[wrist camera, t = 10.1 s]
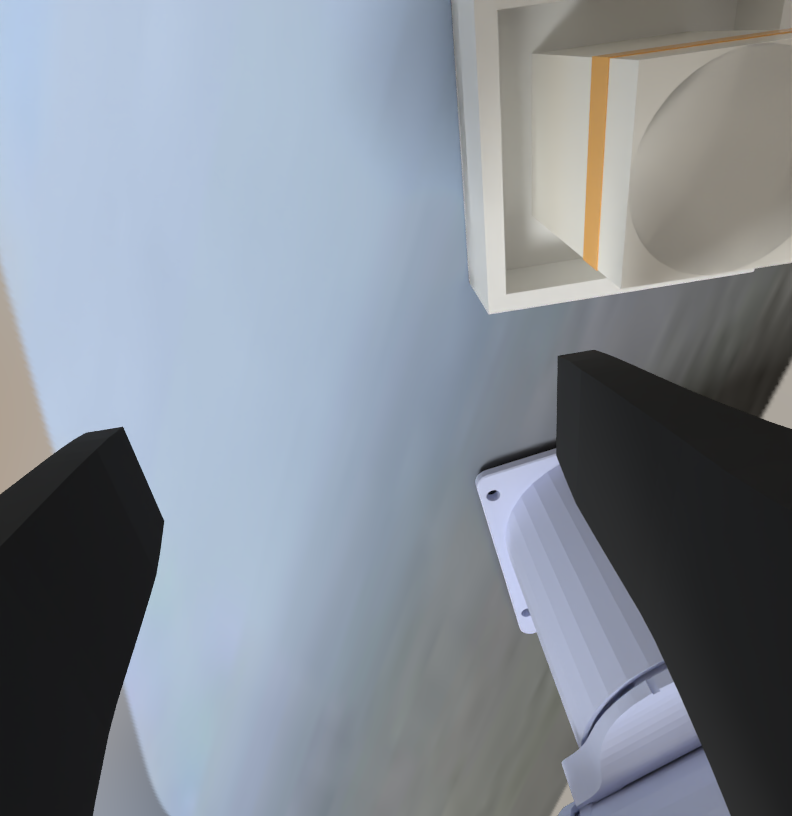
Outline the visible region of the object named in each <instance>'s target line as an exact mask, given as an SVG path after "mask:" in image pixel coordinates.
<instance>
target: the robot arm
mask: <svg viewBox="0 0 792 816" xmlns="http://www.w3.org/2000/svg"><path fill="white" fill-rule="evenodd" d="M475 483H476V487H477V490H478V494H479V497H480V500H481V503H482V507H483V510H484V513H485V517H486V520H487V523H488V526H489V530H490V533H491V536H492V539H493V543H494V546H495V549H496V552H497V556H498V559H499V562H500V565H501V569H502V572H503V575H504V578H505V582H506V585H507V588H508V591H509V595H510V598H511V601H512V604H513V608H514V611H515V614H516V617H517V621H518V624H519V627H520V629H521V631H522V632H524V633H528V634H530V633H535V632H537V634H538V637H539V640H540V642H541V645H542V648H543V651H544V653H545V656H546V659H547V662H548V664H549V667H550V670H551V672H552V675H553V678H554V681H555V683H556V686H557V689H558V692H559V694H560V697H561V700H562V702H563V705H564V708H565V711H566V713H567V716H568V719H569V722H570V724H571V727H572V730H573V732H574V735H575V738H576V741H577V743H578V746H579V749H578V750H577V751H576V752H575V753H573V754H572V755H570V756H569V757H567V758H566V759H564V760H563V761H562V766H563V769H564V772H565V775H566V778H567V781H568V784H569V787H570V790H571V793H572V796H573V799H574V802H572V803H570V804H569V805H567V806H565V807H564V808H563V809H562V810H561V811H560V813H559V814H558V816H792V429H790V428H786V427H784V426H781V425H777V424H775V423H772V422H769V421H766V420H764V419H761V418H758V417H756V416H753V415H750V414H748V413H745V412H742V411H740V410H737V409H734V408H732V407H729V406H726V405H724V404H722V403H719V402H717V401H714V400H712V399H709V398H707V397H704V396H702V395H700V394H697V393H695V392H692V391H690V390H688V389H686V388H683V387H681V386H679V385H676V384H674V383H672V382H670V381H667V380H665V379H663V378H661V377H658V376H656V375H654V374H652V373H649V372H647V371H645V370H643V369H640V368H638V367H636V366H634V365H631V364H629V363H627V362H625V361H622V360H620V359H618V358H615V357H613V356H610V355H608V354H605V353H602V352H599V351H596V350H591V351H584V352H578V353H572V354H566V355H560V356H558V376H557V436H556V448H555V449H552V450H548V451H545V452H542V453H539V454H536V455H532V456H529V457H526V458H523V459H520V460H516V461H513V462H510V463H507V464H503V465H500V466H497V467H494V468H491V469H487V470H485V471H483V472H481V473H480V474H479V475H478V476H477V477H476V480H475ZM492 490H497V491H496V492H495V493H494V494H488V492H490V491H492ZM163 526H164V520H163V517H162V515H161V513H160V511H159V508H158V506H157V504H156V501H155V499H154V497H153V495H152V492H151V490H150V488H149V485H148V483H147V481H146V479H145V476H144V474H143V472H142V469H141V467H140V465H139V462H138V460H137V458H136V456H135V453H134V451H133V449H132V446H131V444H130V442H129V440H128V437H127V435H126V433H125V430H124V428H123V427H119V428H113V429H107V430H101V431H94V432H88V433H85V434H83V435H81V436H80V437H78V438H76V439H74V440H73V441H71V442H70V443H68V444H67V445H66V446H64V447H63V448H61V449H60V450H58V451H57V452H56V453H54V454H53V455H52V456H50V457H49V458H48V459H46V460H45V461H44V462H42V463H41V464H40V465H38V466H37V467H36V468H34V469H33V470H32V471H30V472H29V473H28V474H26V475H25V476H24V477H23V478H21V479H20V480H19V481H17V482H16V483H15V484H13V485H12V486H11V487H9V488H8V489H7V490H5V491H4V492H3V493H2V494H0V816H93V811H94V805H95V800H96V795H97V790H98V785H99V780H100V775H101V770H102V765H103V760H104V754H105V750H106V745H107V739H108V735H109V731H110V727H111V723H112V719H113V716H114V711H115V708H116V704H117V701H118V698H119V695H120V691H121V688H122V685H123V682H124V679H125V675H126V672H127V669H128V666H129V663H130V659H131V656H132V653H133V650H134V647H135V643H136V640H137V637H138V634H139V631H140V627H141V624H142V621H143V618H144V615H145V611H146V608H147V605H148V601H149V598H150V595H151V591H152V588H153V584H154V581H155V577H156V573H157V567H158V561H159V555H160V549H161V542H162V534H163Z"/></svg>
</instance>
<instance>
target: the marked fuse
mask: <svg viewBox="0 0 792 816" xmlns="http://www.w3.org/2000/svg"><path fill="white" fill-rule="evenodd" d="M532 216H533V217H534V218H535V219H537V220H538V221H539V222H540V223H541V224H543V225H544V226H545V227H546V228H547V229H549V230H550V231H551V232H552V233H553V234H555V235H556V236H557V237H558V238H560V239H561V240H562V241H563V242H564V243H566V244H567V245H568V246H569V247H570V248H572V249H573V250H574V251H575V252H576V253H578V254H579V255H580V256H581V257H583V260H584V261H585V262H586V263H588V264H589V265H590V266H591V267H593V268H594V269H595V270H596V271H600V272H601V273H602V274H603V275H604V276H606V277H607V278H608V279H609V280H610V281H612V282H613V283H614V284H615V285H616V286H618V287H619V288H620V289H624V288H631V287H637V286H644V285H650V284H657V283H663V282H670V281H676V280H683V279H689V278H696V277H702V276H709V275H715V274H722V273H728V272H735V271H741V270H748V269H754V268H761V267H767V266H774V265H780V264H787V263H792V28H788V29H768V30H728V31H688V32H681V33H674V34H667V35H660V36H653V37H645V38H638V39H631V40H624V41H617V42H610V43H603V44H596V45H589V46H582V47H575V48H568V49H561V50H554V51H547V52H540V53H533V54H532Z"/></svg>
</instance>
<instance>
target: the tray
mask: <svg viewBox="0 0 792 816" xmlns="http://www.w3.org/2000/svg"><path fill="white" fill-rule="evenodd" d="M451 10H452V25H453V40H454V56H455V71H456V87H457V102H458V118H459V133H460V148H461V164H462V179H463V195H464V210H465V226H466V241H467V256H468V272H469V283H470V284H471V286H472V288H473V289H474V291H475V293H476V294H477V296H478V297H479V299H480V301H481V302H482V304H483V306H484V307H485V309H486V310H487V312H488V314H494V313H500V312H507V311H513V310H519V309H525V308H531V307H538V306H544V305H550V304H556V303H562V302H569V301H575V300H581V299H587V298H593V297H600V296H606V295H612V294H618V293H625V292H631V291H637V290H643V289H649V288H656V287H662V286H668V285H674V284H680V283H687V282H693V281H699V280H705V279H712V278H718V277H724V276H730V275H736V274H743V273H749V272H754V269H748V270H741V271H735V272H728V273H722V274H715V275H709V276H702V277H696V278H689V279H683V280H676V281H670V282H663V283H657V284H650V285H644V286H637V287H631V288H624V289H620V288H619V287H618V286H616V285H615V284H614V283H613V282H612V281H610V280H609V279H608V278H607V277H606V276H604V275H603V274H602V273H601V272H600V271H596V270H595V269H594V268H593V267H591V266H590V265H589V264H588V263H586V262H585V261H584V260H583V257H581V256H580V255H579V254H578V253H576V252H575V251H574V250H573V249H572V248H570V247H569V246H568V245H567V244H566V243H564V242H563V241H562V240H561V239H560V238H558V237H557V236H556V235H555V234H553V233H552V232H551V231H550V230H549V229H547V228H546V227H545V226H544V225H543V224H541V223H540V222H539V221H538V220H537V219H535V218H534V217H533V216H532V54H533V53H540V52H547V51H554V50H561V49H568V48H575V47H582V46H589V45H596V44H603V43H610V42H617V41H624V40H631V39H638V38H645V37H653V36H660V35H667V34H674V33H681V32H688V31H728V30H768V29H788V28H792V0H451Z"/></svg>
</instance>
